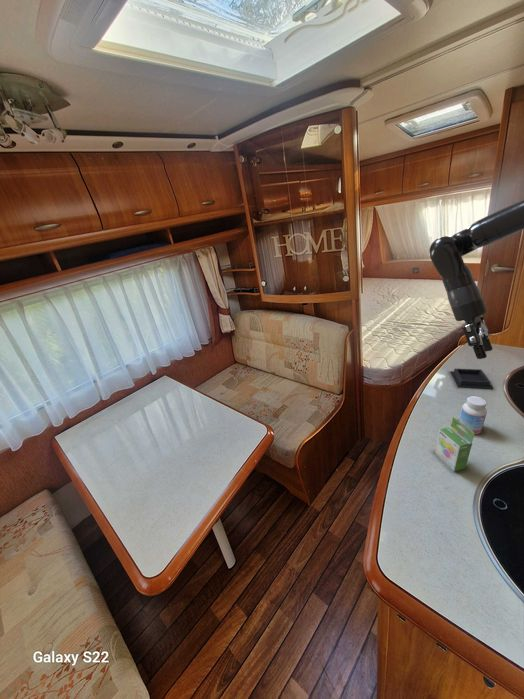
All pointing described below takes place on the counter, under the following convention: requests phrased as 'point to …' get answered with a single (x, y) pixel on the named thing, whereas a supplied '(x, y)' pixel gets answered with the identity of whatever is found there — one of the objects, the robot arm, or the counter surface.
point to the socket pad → (471, 378)
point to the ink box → (454, 445)
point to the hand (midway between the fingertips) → (485, 354)
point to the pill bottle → (473, 414)
